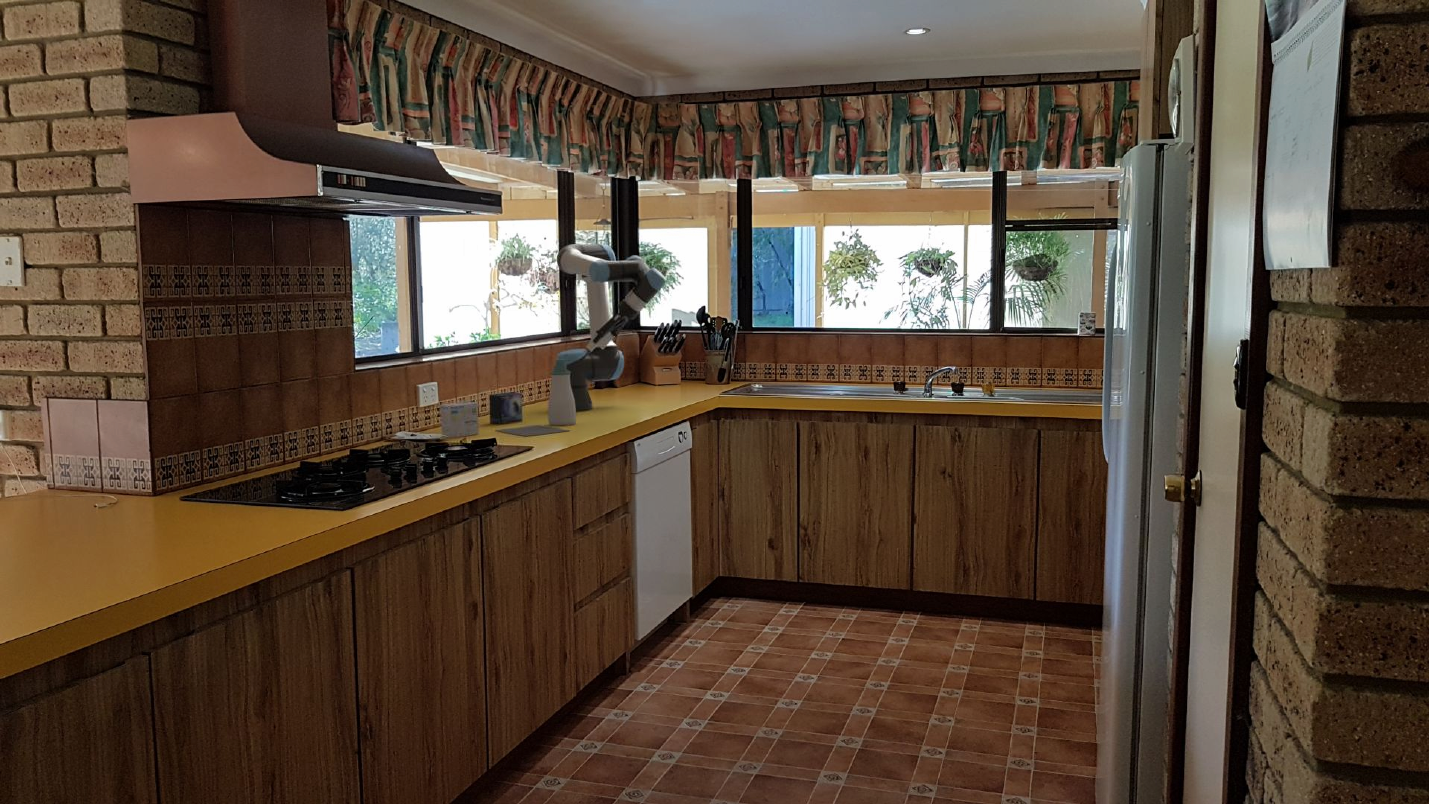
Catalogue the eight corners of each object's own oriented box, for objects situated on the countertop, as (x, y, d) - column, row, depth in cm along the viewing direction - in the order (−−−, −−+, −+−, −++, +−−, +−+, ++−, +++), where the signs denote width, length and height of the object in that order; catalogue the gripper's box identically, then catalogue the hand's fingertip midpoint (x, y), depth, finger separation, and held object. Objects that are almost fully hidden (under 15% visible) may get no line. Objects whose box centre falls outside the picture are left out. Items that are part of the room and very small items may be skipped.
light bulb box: (468, 432, 363) (467, 401, 362) (479, 434, 358) (478, 402, 357) (440, 436, 356) (439, 404, 354) (451, 438, 351) (449, 405, 349)
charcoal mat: (538, 425, 376) (538, 424, 376) (569, 431, 361) (569, 430, 361) (495, 431, 365) (495, 430, 365) (525, 436, 350) (525, 435, 350)
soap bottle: (578, 425, 376) (576, 360, 373) (550, 426, 373) (548, 361, 370) (573, 421, 385) (571, 358, 382) (546, 423, 382) (543, 359, 380)
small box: (501, 424, 381) (500, 395, 380) (489, 423, 385) (487, 394, 384) (523, 421, 389) (522, 392, 388) (511, 420, 393) (510, 391, 392)
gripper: (630, 313, 375) (591, 357, 380) (648, 311, 400) (611, 353, 404) (614, 298, 376) (576, 342, 380) (634, 297, 400) (597, 339, 405)
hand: (594, 348), depth 392 cm, fingers open, 13 cm apart
